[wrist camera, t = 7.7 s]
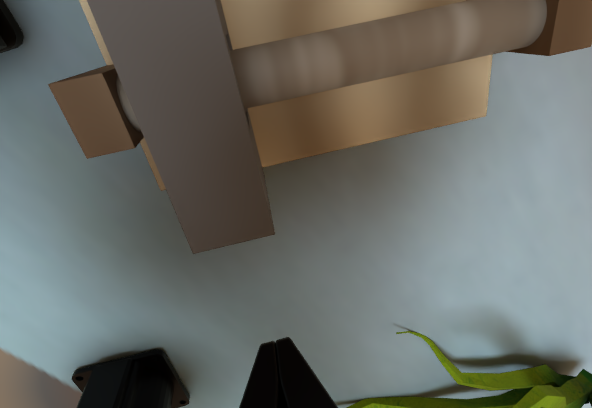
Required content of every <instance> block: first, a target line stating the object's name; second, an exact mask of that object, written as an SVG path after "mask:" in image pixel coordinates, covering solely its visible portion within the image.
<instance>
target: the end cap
mask: <svg viewBox="0 0 592 408" xmlns="http://www.w3.org/2000/svg"><path fill="white" fill-rule="evenodd" d="M22 41H23V34H22V31H21V29H20V27H19V25H18V24H17V22H16V21H15V19H14V17H13V16H12V14H11V12H10V11H9V9H8V8H7V6H6V4H5V3H4V1H3V0H0V53H2V52H5V51H8V50H11V49H15V48H17V47H19V46H20V45H21V44H22Z"/></svg>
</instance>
